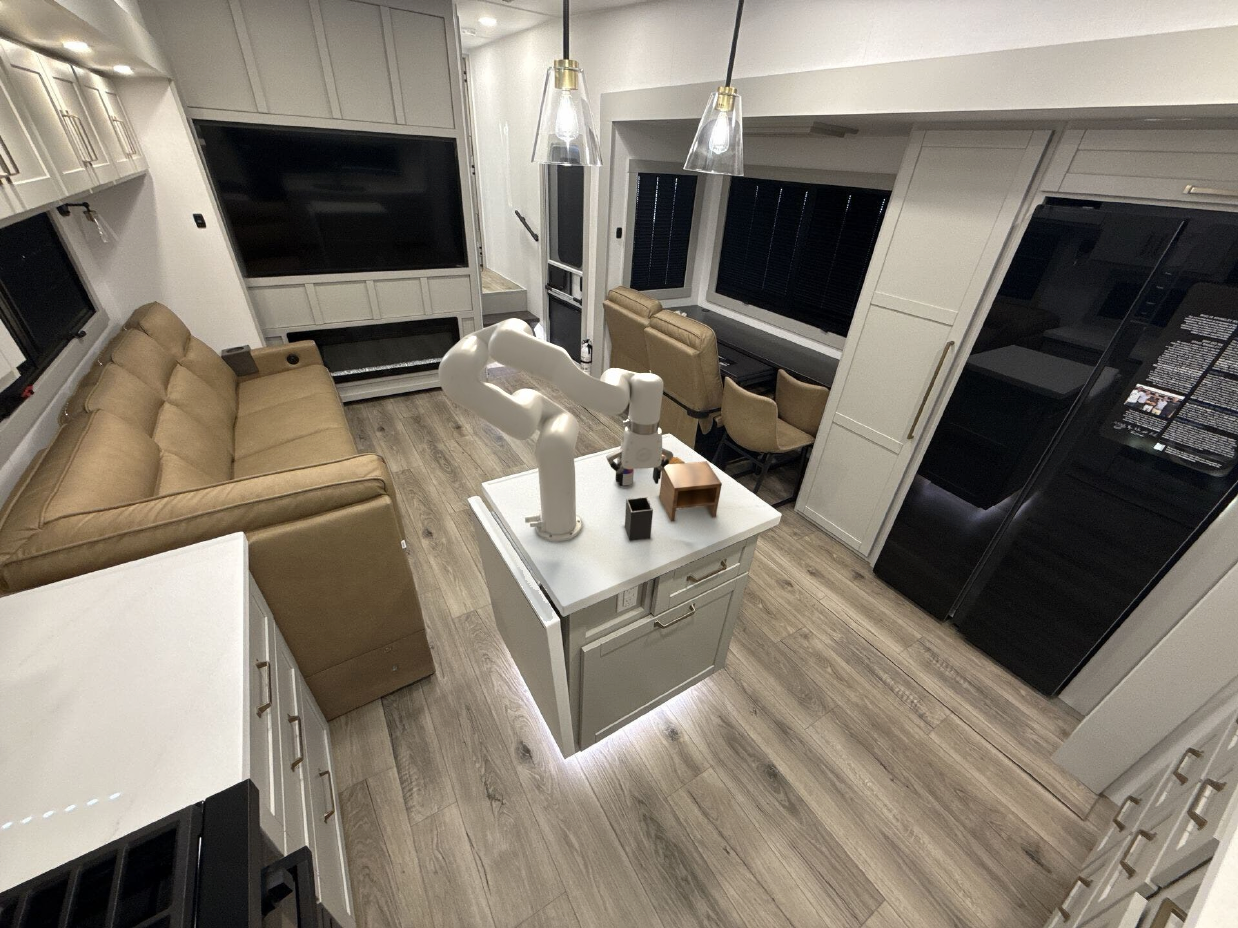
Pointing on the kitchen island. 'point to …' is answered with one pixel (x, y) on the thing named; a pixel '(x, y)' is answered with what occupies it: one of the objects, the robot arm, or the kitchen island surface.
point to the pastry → (674, 460)
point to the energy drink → (626, 477)
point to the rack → (689, 487)
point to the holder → (638, 518)
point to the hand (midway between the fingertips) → (637, 482)
